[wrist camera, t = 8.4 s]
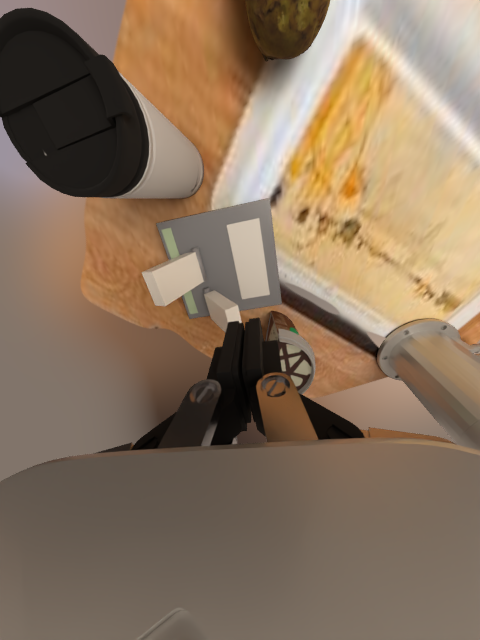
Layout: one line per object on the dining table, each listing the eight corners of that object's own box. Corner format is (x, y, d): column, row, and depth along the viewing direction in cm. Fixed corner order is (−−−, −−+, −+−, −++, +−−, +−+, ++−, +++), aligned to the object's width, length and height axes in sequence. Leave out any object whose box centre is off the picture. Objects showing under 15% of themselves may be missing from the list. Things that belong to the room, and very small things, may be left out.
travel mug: (213, 189, 27) (152, 174, 10) (165, 204, 29) (34, 214, 11) (196, 127, 25) (68, -48, 7) (143, 146, 26) (-82, 33, 8)
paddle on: (201, 246, 27) (150, 268, 21) (210, 279, 30) (166, 308, 23) (192, 247, 28) (140, 269, 22) (201, 279, 30) (156, 307, 24)
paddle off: (210, 285, 31) (237, 302, 24) (217, 313, 33) (244, 335, 26) (199, 289, 30) (224, 307, 23) (208, 317, 32) (232, 341, 25)
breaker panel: (267, 198, 28) (269, 198, 25) (279, 296, 34) (281, 304, 31) (164, 221, 29) (155, 223, 27) (193, 310, 36) (189, 319, 33)
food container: (293, 365, 41) (305, 411, 32) (261, 362, 41) (264, 406, 32) (310, 306, 35) (331, 342, 26) (272, 302, 35) (280, 337, 26)
